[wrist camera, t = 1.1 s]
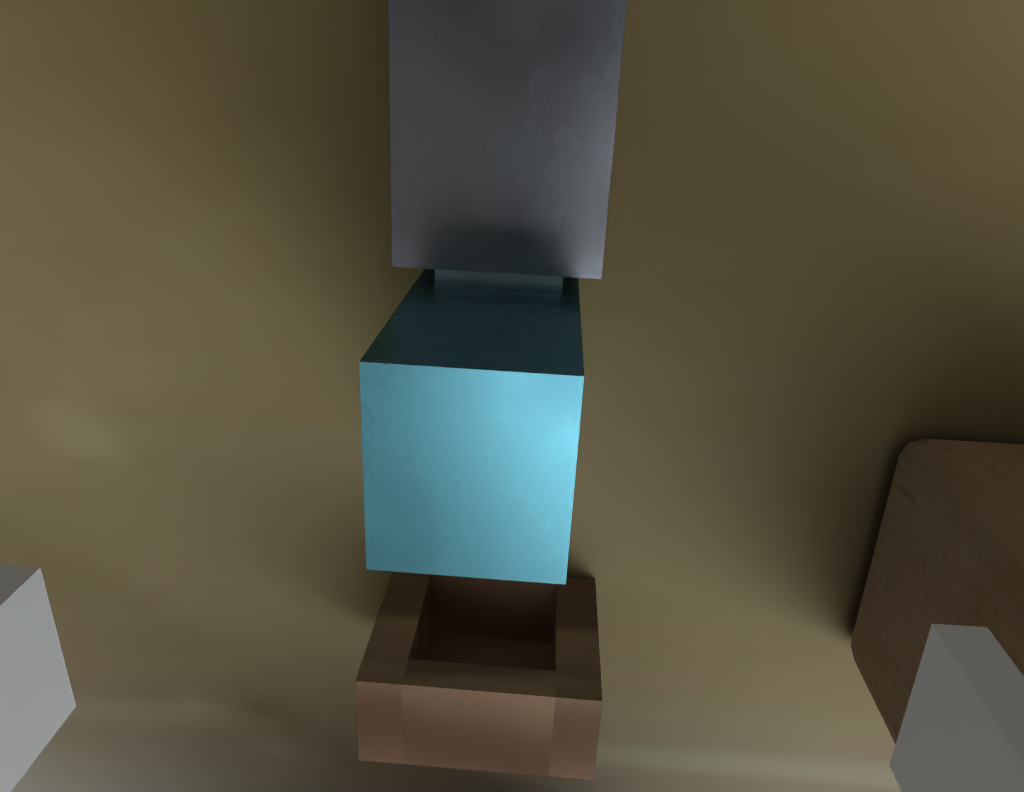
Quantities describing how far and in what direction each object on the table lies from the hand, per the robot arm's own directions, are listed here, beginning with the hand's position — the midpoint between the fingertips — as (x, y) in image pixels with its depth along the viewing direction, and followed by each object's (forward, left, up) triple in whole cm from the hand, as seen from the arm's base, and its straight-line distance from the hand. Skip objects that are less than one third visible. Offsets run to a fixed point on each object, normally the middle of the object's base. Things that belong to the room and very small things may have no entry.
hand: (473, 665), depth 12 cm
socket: (+12, -1, -17) cm, 20 cm away
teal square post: (-4, -1, -16) cm, 16 cm away
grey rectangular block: (-9, -1, -17) cm, 19 cm away
